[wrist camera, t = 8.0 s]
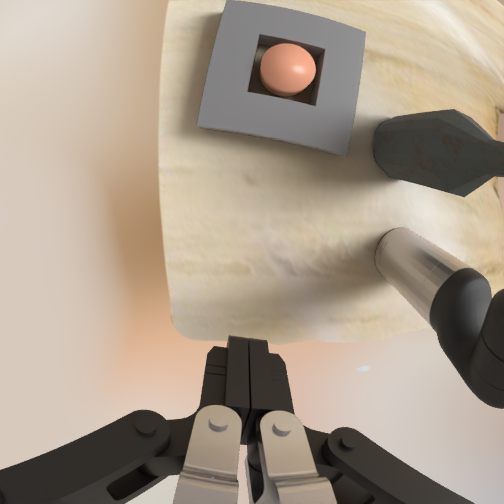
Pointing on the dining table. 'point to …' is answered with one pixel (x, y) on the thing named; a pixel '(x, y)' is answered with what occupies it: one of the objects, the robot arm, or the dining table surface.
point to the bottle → (439, 151)
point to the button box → (273, 108)
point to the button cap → (286, 69)
